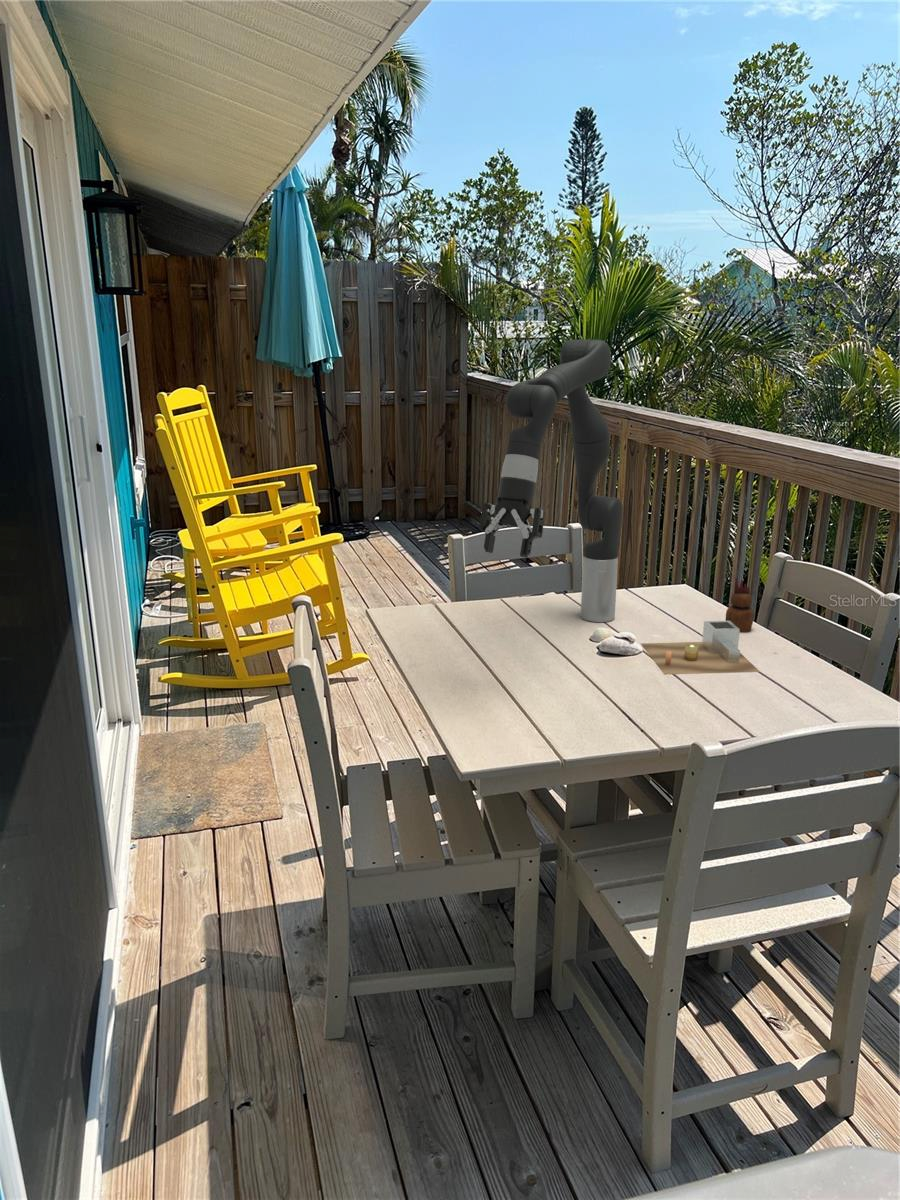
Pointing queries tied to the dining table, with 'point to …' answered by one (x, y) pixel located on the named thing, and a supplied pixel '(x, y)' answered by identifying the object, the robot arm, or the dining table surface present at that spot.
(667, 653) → the dowel
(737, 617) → the wooden figurine
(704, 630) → the square container with handle
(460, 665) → the dining table surface
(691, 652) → the small yellow jar
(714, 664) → the board
